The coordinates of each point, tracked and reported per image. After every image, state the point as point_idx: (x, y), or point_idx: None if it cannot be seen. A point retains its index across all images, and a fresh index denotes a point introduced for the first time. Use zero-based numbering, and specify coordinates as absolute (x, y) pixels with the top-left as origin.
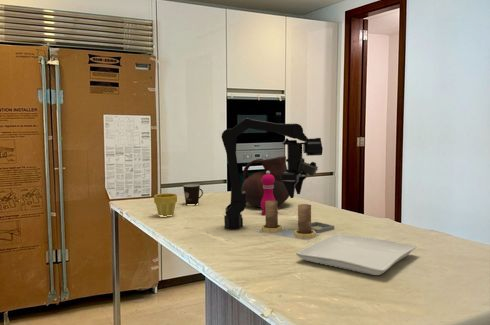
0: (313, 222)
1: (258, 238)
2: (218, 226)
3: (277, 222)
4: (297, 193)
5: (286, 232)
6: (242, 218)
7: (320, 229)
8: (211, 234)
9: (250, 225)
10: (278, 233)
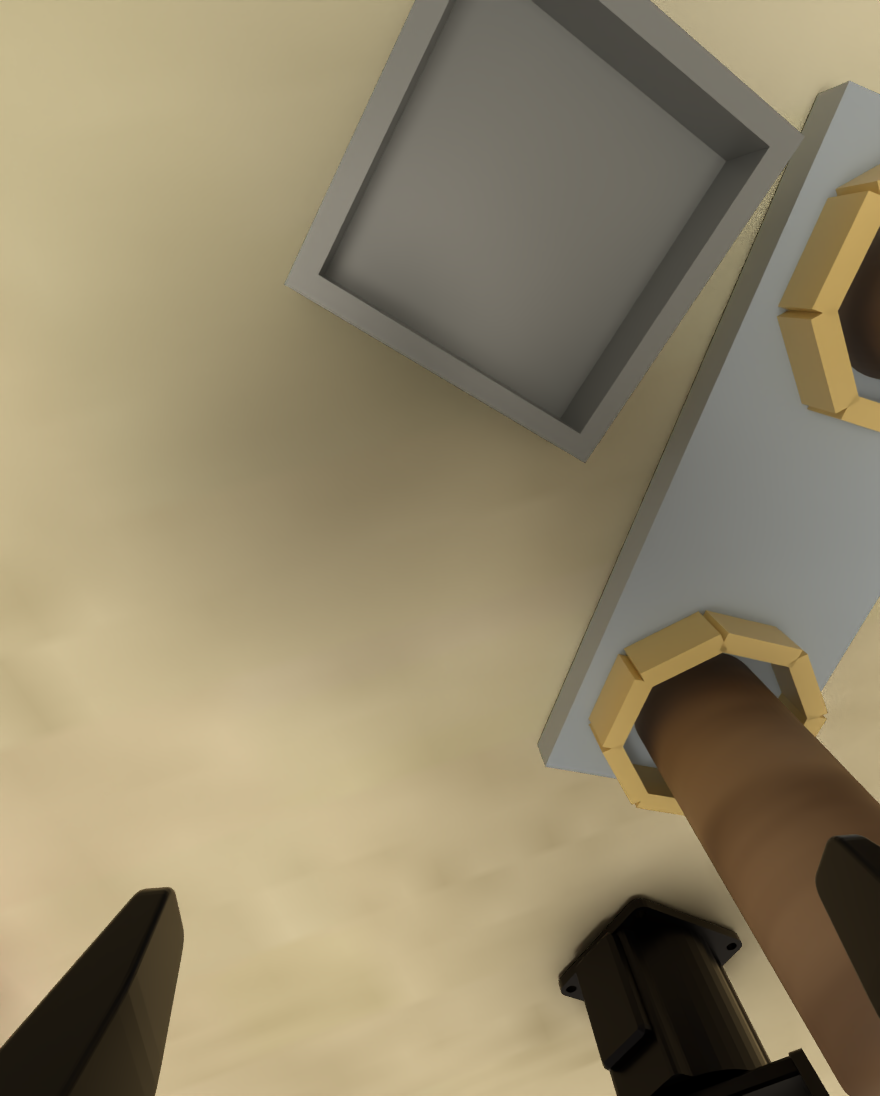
0: (352, 322)
1: (862, 723)
2: (535, 1074)
3: (756, 708)
4: (178, 949)
5: (770, 546)
6: (646, 1026)
7: (754, 98)
8: (768, 1014)
9: (431, 929)
10: (816, 608)
